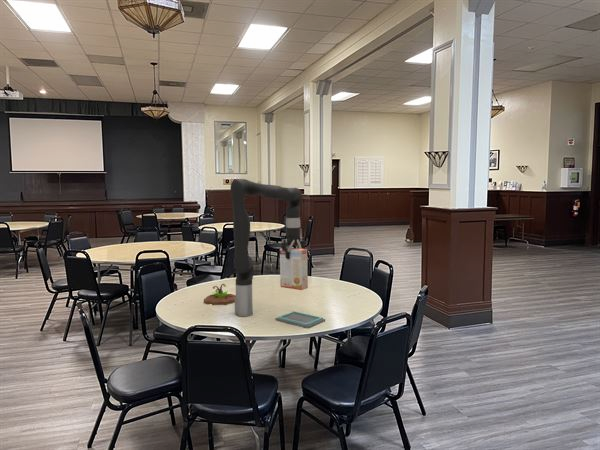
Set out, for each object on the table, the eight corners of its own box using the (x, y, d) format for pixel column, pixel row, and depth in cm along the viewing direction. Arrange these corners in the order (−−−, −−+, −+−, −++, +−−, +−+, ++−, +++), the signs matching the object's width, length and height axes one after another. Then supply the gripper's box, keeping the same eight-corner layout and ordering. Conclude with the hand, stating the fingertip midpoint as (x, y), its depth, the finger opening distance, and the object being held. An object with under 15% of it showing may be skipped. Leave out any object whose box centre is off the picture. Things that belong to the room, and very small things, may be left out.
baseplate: (275, 320, 232) (275, 316, 232) (293, 313, 244) (293, 310, 244) (308, 328, 219) (308, 324, 219) (325, 321, 230) (325, 317, 230)
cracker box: (308, 288, 226) (307, 248, 224) (301, 290, 221) (300, 250, 219) (287, 285, 234) (286, 246, 232) (280, 287, 229) (279, 248, 227)
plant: (230, 306, 260) (230, 288, 259) (199, 304, 264) (199, 286, 263) (241, 298, 280) (241, 280, 279) (212, 296, 284) (212, 279, 283)
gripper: (286, 227, 218) (286, 260, 219) (308, 225, 226) (308, 257, 228) (277, 226, 224) (278, 258, 225) (299, 225, 232) (300, 255, 234)
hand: (293, 258), depth 226 cm, fingers closed on cracker box, 7 cm apart
